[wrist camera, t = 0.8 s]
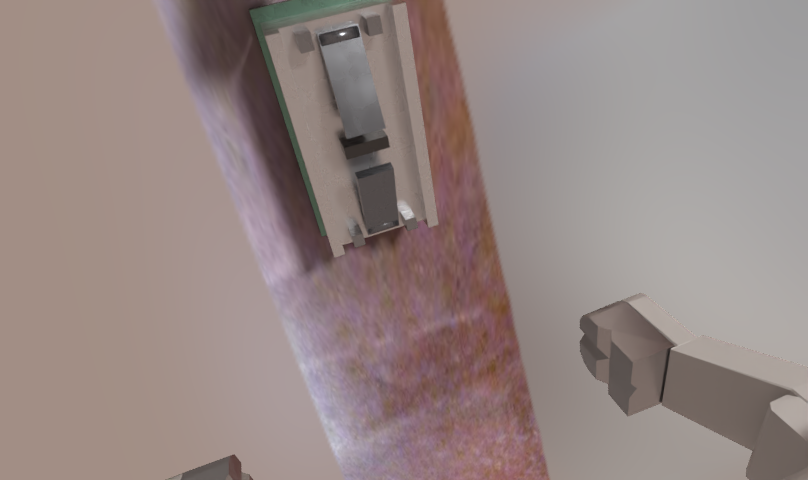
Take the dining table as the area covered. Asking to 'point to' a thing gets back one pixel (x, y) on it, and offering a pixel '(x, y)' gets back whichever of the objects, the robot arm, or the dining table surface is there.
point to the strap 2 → (378, 197)
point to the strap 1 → (351, 80)
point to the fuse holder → (320, 121)
